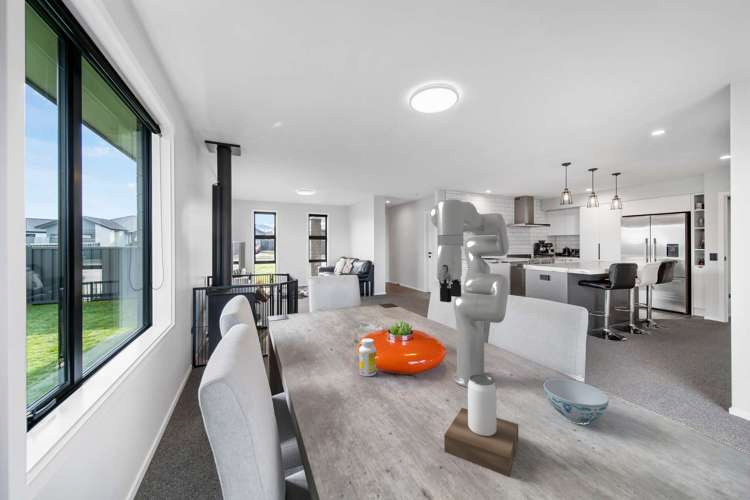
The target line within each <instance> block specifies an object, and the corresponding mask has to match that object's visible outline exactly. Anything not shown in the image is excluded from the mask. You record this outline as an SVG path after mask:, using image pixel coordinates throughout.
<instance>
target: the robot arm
mask: <svg viewBox="0 0 750 500" xmlns="http://www.w3.org/2000/svg"><path fill="white" fill-rule="evenodd" d="M430 220H431V223H432V224H433V226H434V227H435V228H436V229H437V231H436V232H437V233H436V234H437V236H436V237H437V240H436V241H437V247H438V248H437V250H438V251H437V256H436V257H437V259H436V260H437V261H436V279H437V281H438V282H439V301H440V302H441V303H452V297H454V300H453V311H454V315H455V323H456V324H455V325H456V371H455V372H453V374H452V380H453V382H455V383H456V384H457V385H460V386H461V387H466V388H468V382H469V380H470V376H472V375H485V376H487V375H486V374H485V333H484V330H483V327H482V326H481V325H480V324H479V322H484V323H493V324H494V323H495V324H499V323H502V322H503V321H504V319H505V317H506V313H507V304H508V298H509V281H508V278H507V277H506V276H505V275H504V274H501V273H491V268H490V265H489V264H488V262H487V261H486V260H485V259H483V258H482V257H504V256H506V255H507V254H508V252H509V249H510V245H509V244H510V242H509V236H508V231H507V225H506V222H505V219H504V217H503V215H502V214H501V213H498V212H494V213H480V212H478V210H477V207H476V206H475V205H474V204H473V203H472V202H470V201H461V200H460V199H456V198H455V199H452V198H450V199H443V200H440V201H439V202H437V204H436V205H434V206H433V207H432V209H431V211H430ZM464 233H467V234H468V235H471V237H469V238H467V239H466V240H465V241H464ZM464 242H465V243H464ZM462 247H464V254H465V259H466V263H467V266H468V267H467V271H466V275H465V278H464V283H463V292H464V293H462V275H463V261H462Z"/></svg>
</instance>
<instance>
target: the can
mask: <svg viewBox="0 0 750 500" xmlns="http://www.w3.org/2000/svg"><path fill="white" fill-rule="evenodd" d="M485 375H486V374H484V375H472V376H470V380H469V382H468V387H467V409H468V426H469V428H470V430H471V431H472V432H474V433H475V434H477V435H480V436H492V435H494V434H495V433H496V418H497V387H496V384H495V380H494V379H493V378H492V377H491V376H489V375H486V376H485Z"/></svg>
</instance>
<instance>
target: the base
mask: <svg viewBox="0 0 750 500" xmlns="http://www.w3.org/2000/svg"><path fill="white" fill-rule="evenodd" d="M443 439H444V441H443V442H444V445H443V446H444V448H443V449H444V452H445V453H447V454H449V455H451V456H455V457H458V458H460V459H462V460H464V461H467V462H469V463H472V464H475V465H477V466H480V467H483V468H485V469H488V470H490V471H493V472H495V473H498V474H501V475H504V476H506V477H508V478H510V477H511V473H512V468H513V464H514V459H515V456H516V451H517V447H518V444H519V423H516V422H513V421H509V420H506V419H502V418H499V417H496V433H495V434H494V435H492V436H480V435H477V434H475V433H474V432H472V431H471V430H470V428H469V426H468V408H465V407H461V408H460V410H459V411H458V413H457V414H456V416H455V418H454V419H453V420H452V422H451V424H450V425H449V427H448V429H447V430H446V431H445V433H444V438H443Z"/></svg>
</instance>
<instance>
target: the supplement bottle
mask: <svg viewBox="0 0 750 500" xmlns="http://www.w3.org/2000/svg"><path fill="white" fill-rule="evenodd" d="M374 342H375V341H374V339H373V338H363V339H361V346H360V347H359V348H358V349H359V350H358V355H359V357H358V360H359V362H358V363H359V364H358V366H359V367H358V369H359V375H361V376H362V377H373V376H375V375H376V374H377V372H378V371H377V368H378V367H376V365H377V362H376V363H375V357H376V358H377V347H376V346H375V345H374Z"/></svg>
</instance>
